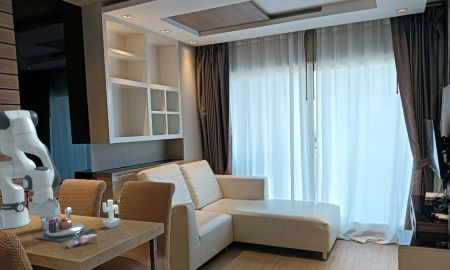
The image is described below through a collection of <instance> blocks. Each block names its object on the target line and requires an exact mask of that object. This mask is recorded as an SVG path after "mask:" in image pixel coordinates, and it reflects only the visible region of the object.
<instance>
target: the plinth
mask: <svg viewBox="0 0 450 270" xmlns="http://www.w3.org/2000/svg"><path fill="white" fill-rule="evenodd" d="M94 230H95V228H94V227H87V226H84V230H83V231H81V232H79V233H77V234H78V237H81V236H83V235H85V234H87V233H90V232H93V231H94ZM74 237H76V235H75V234H74V235H70V236H64V237H48V236H47V233H46V232H44V233H42V234H39V235H36V236H35V239H36V240H37V239H39V240H43V241H44V240H45V241H46V240H47V241H51V242H52V241H53V242H59V243H64V242H67V241H71V240H72V239H73V238H74Z"/></svg>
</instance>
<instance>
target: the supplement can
mask: <svg viewBox="0 0 450 270" xmlns="http://www.w3.org/2000/svg"><path fill="white" fill-rule="evenodd" d="M45 219H46V218H45ZM58 219H59V218H58V216H57V217H50V219H49V223H51V222H56V226H57V225H58V224H57V222H58V221H59V220H58ZM40 222H41V230H43V231H47V230H48V229H49V224H47V225H44V224H42V221H41V220H40Z"/></svg>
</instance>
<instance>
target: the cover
mask: <svg viewBox="0 0 450 270" xmlns="http://www.w3.org/2000/svg"><path fill="white" fill-rule="evenodd" d="M72 223H73V219H72V218H71V219H68V218H67V217H62V218H60V219H59V220H58V222H57V224H58V230H67V229H70V228H72Z"/></svg>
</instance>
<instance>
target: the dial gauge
mask: <svg viewBox="0 0 450 270" xmlns="http://www.w3.org/2000/svg"><path fill="white" fill-rule="evenodd" d="M63 213H64V215H65V216H66V218H68V219H72V217H71V215H72V214H73V209H72V207H66V208H65V209H64V211H63Z"/></svg>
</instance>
